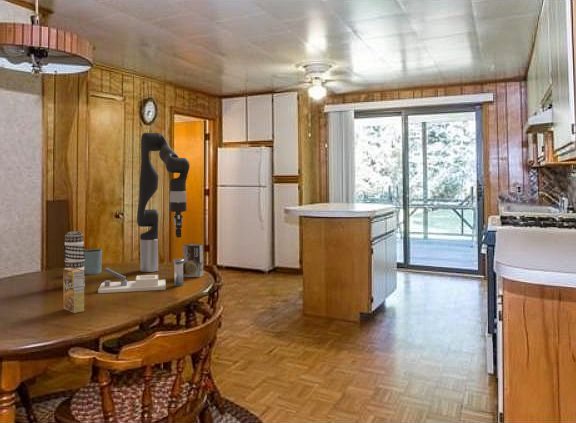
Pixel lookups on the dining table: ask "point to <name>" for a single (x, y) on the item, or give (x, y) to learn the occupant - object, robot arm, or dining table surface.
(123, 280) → the latch lever
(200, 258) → the coffee box
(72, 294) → the candy box
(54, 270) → the dining table surface
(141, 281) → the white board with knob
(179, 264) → the steel pin
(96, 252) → the blue cylindrical container
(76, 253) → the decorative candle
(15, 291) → the dining table surface
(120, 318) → the dining table surface
